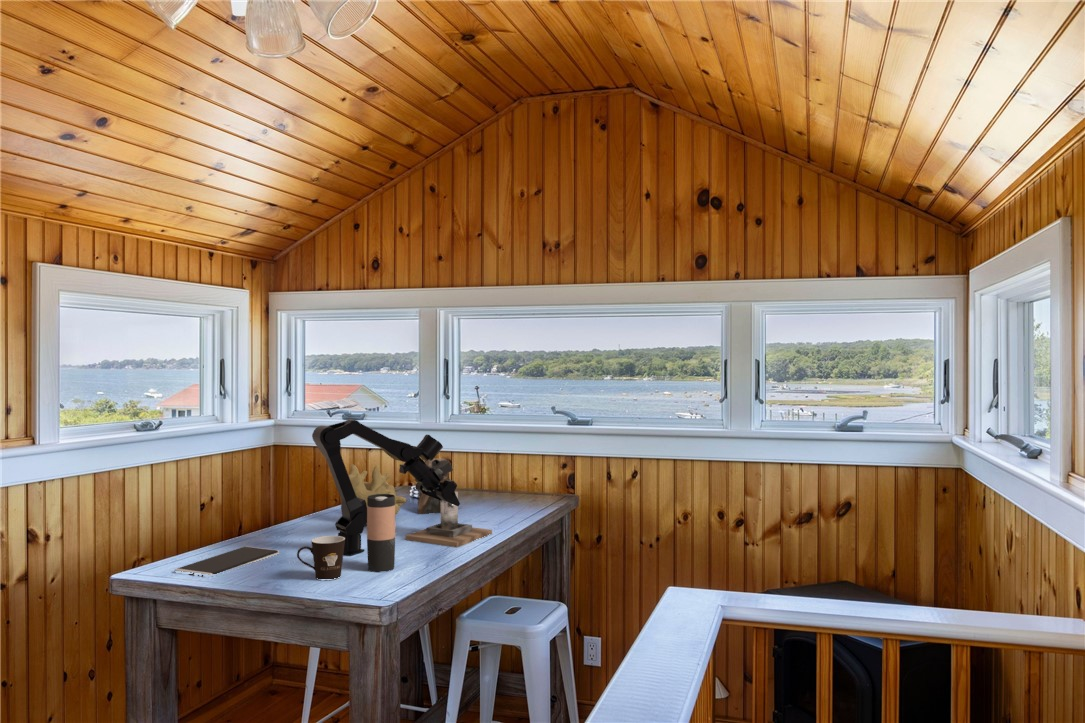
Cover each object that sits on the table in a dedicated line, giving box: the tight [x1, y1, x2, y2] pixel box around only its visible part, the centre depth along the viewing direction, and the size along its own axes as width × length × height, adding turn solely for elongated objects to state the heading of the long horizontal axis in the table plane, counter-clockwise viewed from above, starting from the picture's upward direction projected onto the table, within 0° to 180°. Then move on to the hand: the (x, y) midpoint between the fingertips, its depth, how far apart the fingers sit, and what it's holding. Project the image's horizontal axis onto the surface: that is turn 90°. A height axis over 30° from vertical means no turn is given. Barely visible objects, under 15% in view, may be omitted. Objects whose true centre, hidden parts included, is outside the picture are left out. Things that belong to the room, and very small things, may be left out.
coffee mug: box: [296, 535, 345, 579], centre depth 203 cm, size 12×9×10 cm
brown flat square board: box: [404, 522, 493, 548], centre depth 249 cm, size 20×20×4 cm
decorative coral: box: [348, 463, 407, 526], centre depth 274 cm, size 26×22×25 cm
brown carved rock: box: [417, 457, 451, 515], centre depth 292 cm, size 13×13×20 cm
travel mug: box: [366, 494, 396, 573], centre depth 212 cm, size 8×8×20 cm
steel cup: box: [440, 490, 459, 530], centre depth 249 cm, size 6×6×13 cm
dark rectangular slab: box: [173, 546, 280, 575], centre depth 217 cm, size 13×27×2 cm, turn 158°
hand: (451, 503), depth 250 cm, fingers open, 9 cm apart
